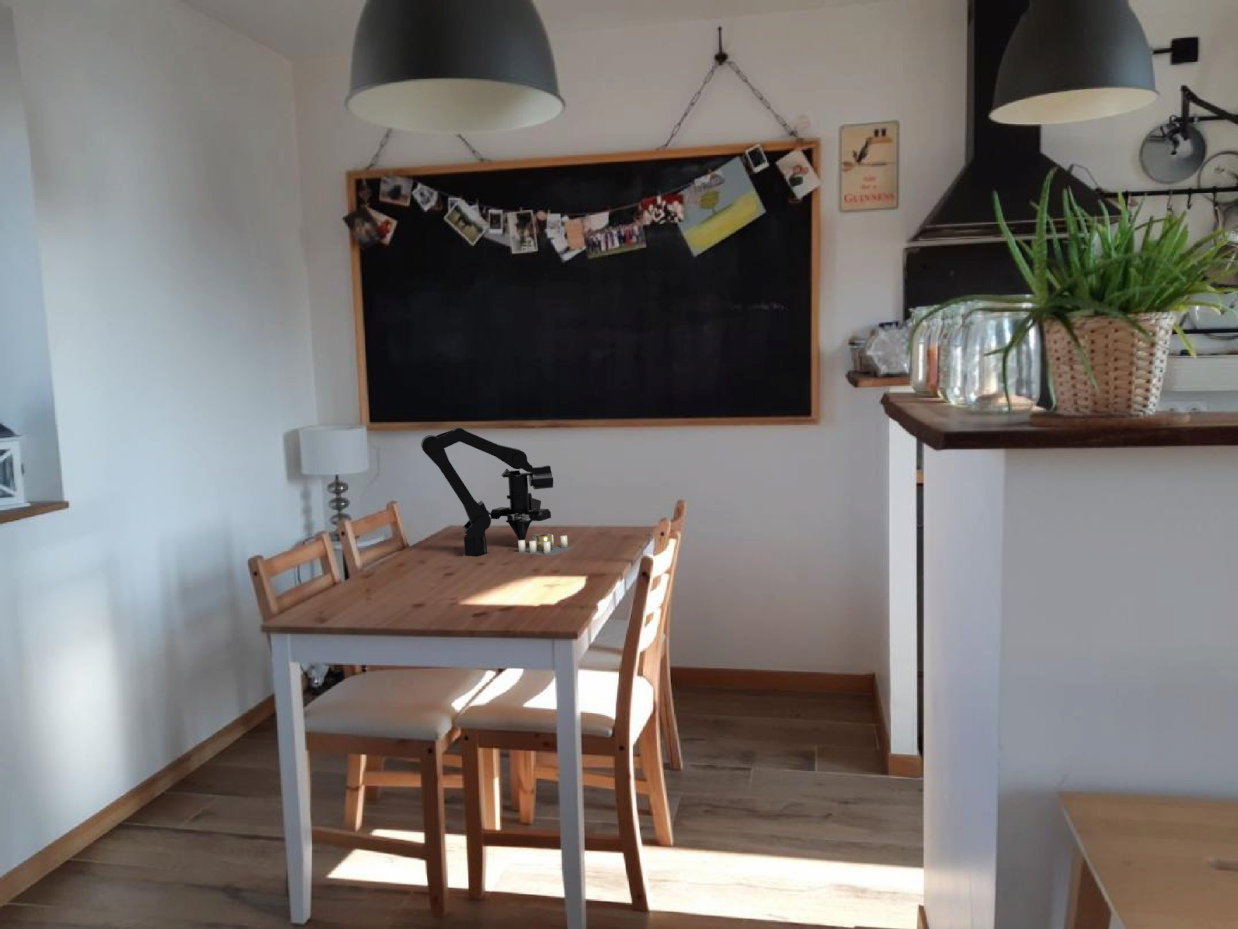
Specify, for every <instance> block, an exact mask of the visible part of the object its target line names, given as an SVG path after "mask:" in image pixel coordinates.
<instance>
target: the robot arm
mask: <svg viewBox="0 0 1238 929" xmlns="http://www.w3.org/2000/svg"><path fill="white" fill-rule="evenodd" d="M457 443H462V444H465V445H467V446H470V447H472V448H474V449H477V450H479V451H481V452H484V453H486V454H489V455H491V456H494V457H496V458H497V459H498V460H500V461H502V462H503V463H504V464H506V465H508V466H509V467H510V468H512V469H514V470H509V468H505V470H504V471H503V472H502V473H501V475H500V476H501V477H502V478H503V479H505V478H507V479H508V480H507V481H508V492H509V493H508V494H507V495H506V499H507V500H509V507H507V506H500V507H496V508H493V509H491V510H490V511H489V510H488V509H487V507H486V504H485V503H484V501H483V500H480V501H477V500H475V499H474V497H473V495H472V494H471V492H470V490H469V489H468V488H467V486H466V484H465V483H464V481H463V480H462V479H461V477H460V476H459V474H458V472H457V471H456V469H455V468H454V466H453V465H452V463H451V461H450V459H449V457H448V454H447V452H446V448H448V447H451V446H452V445H455V444H457ZM420 447H421V449H422V451H423V452H424V454H425V455H426V456H427V457H428V458H429V459H430V460H431V461H432V463H433V464H435V465H436V466H437V467H438V469H439V470H440V472H441V474H442V475H443V476H444V478H445V479H446V481H447V482H448V484H449V485H450V487H451V489H452V490H453V491H454V493H455V495H456V497H458V499H459V501H460V502H461V504H462V506H463V509H464V511H465V513H466V516H467V518H468V520H467V521H466V523H465V524H463V526H462V530H463V531H464V533H465V535H464V536H463V544H464V553H463V554H461V555H460V556H461V557H476V558H477V557H480V556H484V555H487V554H490V553H491V551H488V548H487V545H488V544H487V538H486V531H487V530H488V529H489V528H490V526H491V525H492V520H499V519H500V518H501V517H506V518H507V519H506V520H505V523H508V525H509V526H510V527H511V530H513V532H514V534H515V536H516V537H517V540H525V541H526V537H527V533H528V530H529V528H530V525H531V523H532V522H542V521H545V520H548V519H551V518H552V512H551V511H550V509H549V508H541V506H542V505H541V504H542V500H541V499H537V498H534V497H533V495H532V492H529V487H532V488H533V490H544V489H545V490H546V489H553V488H554V477H553V472H552V468H551V465H544V466H536V467H535V466H534V467H533V465H532V464H530V463H529V462H528V456H527V454H526V453H525V452H524V451H522V450H521V449H520V448H516V447H511V446H506V445H501V444H498V443H495V442H493V441H490V440H488V439H486V438H484V437H481V436H479V435H476V434H474V433H472V432H469V431H467V430H465V429H464V428H462V427H459V426H457V427H455V428H453V429H451V430H448V431H445V432H442V433H439V434H436V435H433V434H428V435H425V436H424V437H423V438H422V440H421V442H420ZM520 470H523V471H525V472H520Z"/></svg>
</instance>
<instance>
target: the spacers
mask: <svg viewBox="0 0 1238 929" xmlns="http://www.w3.org/2000/svg"><path fill="white" fill-rule="evenodd" d="M538 534H539V533H533V534H532V540H529V541H528V543H529V544H528V545H529V547H530V553H531V554H530V555H535V554H534V553H537V548H536V546H537V541H536V535H538ZM559 539H560V546H561V548H568V547H569V545H568V544H569V543H568V535H560V538H559ZM554 541H555V540H554V535H553V534H552V547H554V546H555V542H554ZM517 544H518V551H519V553H518V554H522V553H524V552H526V539H525V540H519V539H517ZM543 546H544V554H545V555H544V556H548V555H547V554H551V547H550V541H545V542H543Z"/></svg>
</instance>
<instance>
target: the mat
mask: <svg viewBox="0 0 1238 929" xmlns="http://www.w3.org/2000/svg"><path fill="white" fill-rule="evenodd" d="M536 548H537V546H536ZM575 548H576V546H568V548H561V545H554V547H553V550H551V554H547V555H545V554H544V552H541V551H537V553H534V554H533V555H538V556H539V555H540V556H541V555H542V556H552V557H553V556H557V555H559V554H561V553H564V552H567V551H569V550H572V549H575ZM525 549H526V552H524V553H521V555H522V554H525V555H532V554H531V553H530V546H529V547H527V548H526V547H525ZM514 554H520V553H519V550H518V551H515V552H514Z"/></svg>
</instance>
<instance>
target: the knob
mask: <svg viewBox="0 0 1238 929" xmlns="http://www.w3.org/2000/svg"><path fill="white" fill-rule="evenodd" d="M537 534H538V535H536V541H537V551H541V552H544V546H543V542H545V541H550V547H551V550H553V547H552V535H553V534H552V533H537Z"/></svg>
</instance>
